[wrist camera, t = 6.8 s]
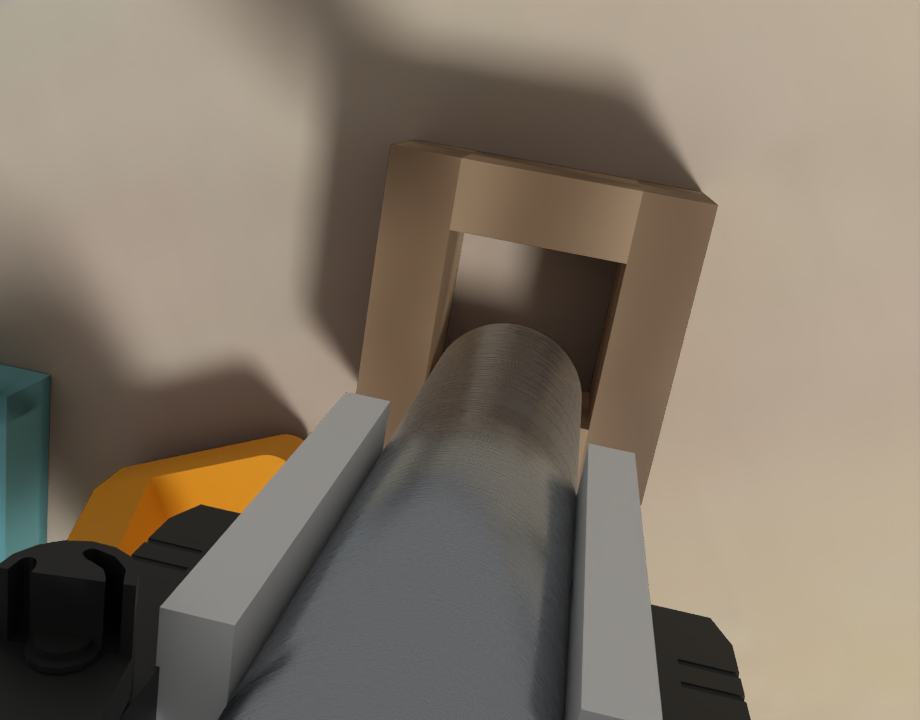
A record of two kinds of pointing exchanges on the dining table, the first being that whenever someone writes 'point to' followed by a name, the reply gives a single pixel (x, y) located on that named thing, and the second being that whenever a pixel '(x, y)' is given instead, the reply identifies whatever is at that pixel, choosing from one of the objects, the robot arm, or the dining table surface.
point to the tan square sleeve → (547, 226)
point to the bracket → (179, 489)
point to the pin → (444, 556)
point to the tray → (23, 458)
